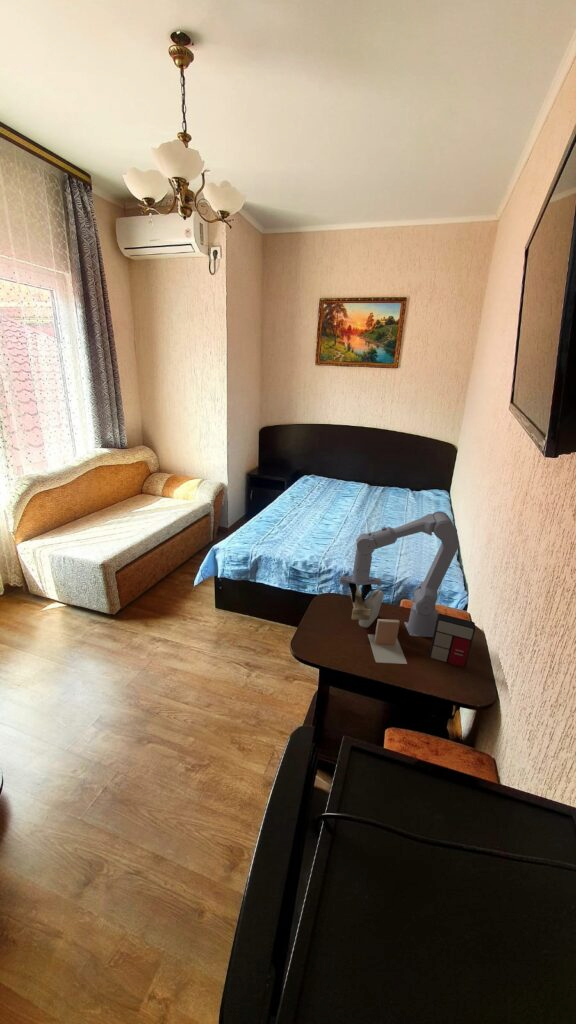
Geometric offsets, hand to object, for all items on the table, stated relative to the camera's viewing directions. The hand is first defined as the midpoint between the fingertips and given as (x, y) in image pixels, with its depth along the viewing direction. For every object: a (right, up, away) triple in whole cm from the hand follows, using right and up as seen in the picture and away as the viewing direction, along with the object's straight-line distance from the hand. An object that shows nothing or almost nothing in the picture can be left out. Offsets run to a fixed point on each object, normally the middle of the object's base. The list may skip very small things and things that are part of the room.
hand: (357, 601), depth 145 cm
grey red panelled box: (+26, -16, -14) cm, 34 cm away
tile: (+8, -12, -9) cm, 17 cm away
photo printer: (+4, -8, +3) cm, 10 cm away
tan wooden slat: (0, -2, +1) cm, 2 cm away
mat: (+8, -14, -11) cm, 19 cm away
